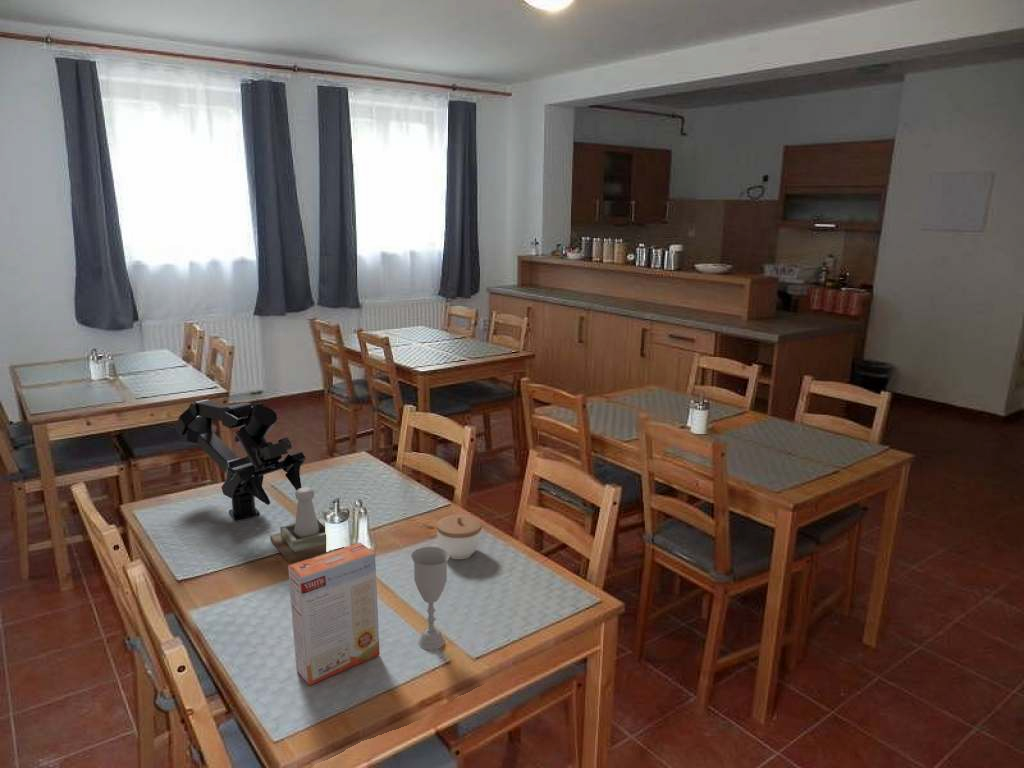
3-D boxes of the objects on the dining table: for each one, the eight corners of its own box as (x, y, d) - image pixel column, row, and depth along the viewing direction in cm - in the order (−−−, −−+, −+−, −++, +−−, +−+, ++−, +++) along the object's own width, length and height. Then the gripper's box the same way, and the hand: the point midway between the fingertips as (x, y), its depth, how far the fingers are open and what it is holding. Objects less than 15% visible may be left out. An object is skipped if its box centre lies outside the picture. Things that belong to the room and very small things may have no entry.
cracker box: (365, 640, 132) (361, 540, 127) (380, 656, 128) (377, 552, 123) (294, 669, 123) (286, 563, 118) (308, 687, 119) (301, 577, 114)
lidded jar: (453, 569, 159) (453, 531, 157) (428, 551, 167) (427, 515, 165) (490, 555, 166) (491, 519, 164) (464, 538, 174) (464, 504, 172)
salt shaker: (301, 546, 166) (298, 495, 163) (290, 538, 170) (287, 488, 167) (323, 539, 170) (321, 489, 167) (312, 531, 174) (310, 482, 171)
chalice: (405, 640, 132) (403, 554, 128) (433, 626, 137) (432, 543, 133) (429, 658, 127) (427, 569, 123) (457, 642, 132) (457, 556, 128)
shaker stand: (270, 539, 171) (269, 526, 171) (325, 525, 179) (324, 512, 179) (289, 562, 160) (288, 548, 160) (346, 546, 169) (346, 532, 168)
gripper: (233, 438, 164) (264, 494, 160) (299, 421, 179) (329, 471, 175) (217, 462, 171) (247, 516, 167) (283, 443, 185) (311, 492, 181)
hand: (285, 498), depth 172 cm, fingers open, 9 cm apart
